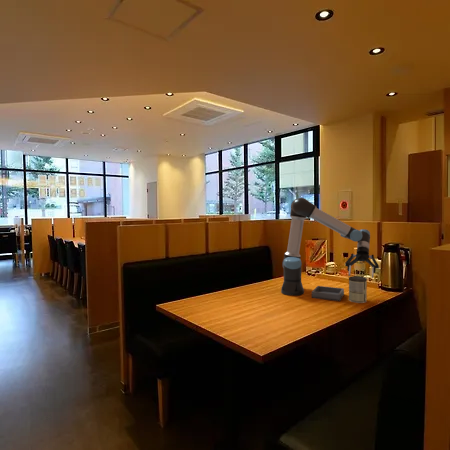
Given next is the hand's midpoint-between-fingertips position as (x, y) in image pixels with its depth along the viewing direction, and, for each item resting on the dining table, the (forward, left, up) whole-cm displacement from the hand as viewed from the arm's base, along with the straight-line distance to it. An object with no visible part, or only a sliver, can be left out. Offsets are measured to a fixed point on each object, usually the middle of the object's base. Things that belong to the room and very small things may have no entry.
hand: (360, 275), depth 202 cm
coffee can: (-1, -8, -14) cm, 16 cm away
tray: (-19, -6, -14) cm, 24 cm away
